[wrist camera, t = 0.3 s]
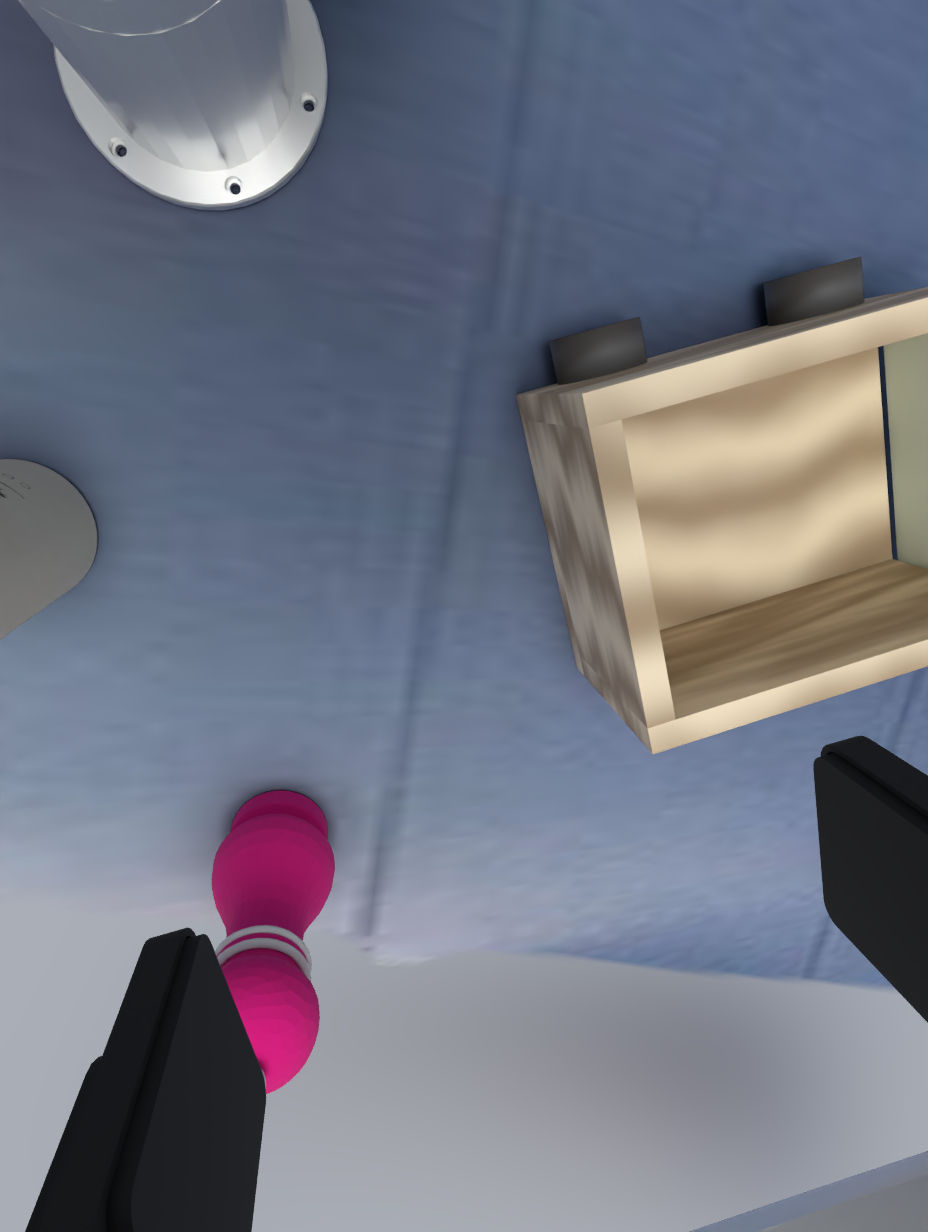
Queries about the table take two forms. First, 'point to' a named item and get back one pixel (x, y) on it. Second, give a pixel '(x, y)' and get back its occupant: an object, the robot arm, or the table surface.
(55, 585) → the travel mug
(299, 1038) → the pepper mill
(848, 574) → the truck bed
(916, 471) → the panel
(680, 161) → the table surface
